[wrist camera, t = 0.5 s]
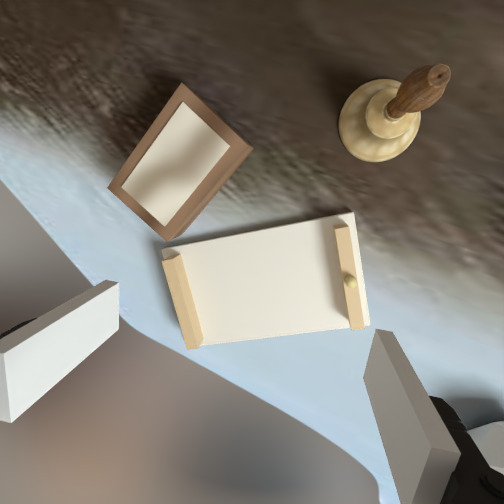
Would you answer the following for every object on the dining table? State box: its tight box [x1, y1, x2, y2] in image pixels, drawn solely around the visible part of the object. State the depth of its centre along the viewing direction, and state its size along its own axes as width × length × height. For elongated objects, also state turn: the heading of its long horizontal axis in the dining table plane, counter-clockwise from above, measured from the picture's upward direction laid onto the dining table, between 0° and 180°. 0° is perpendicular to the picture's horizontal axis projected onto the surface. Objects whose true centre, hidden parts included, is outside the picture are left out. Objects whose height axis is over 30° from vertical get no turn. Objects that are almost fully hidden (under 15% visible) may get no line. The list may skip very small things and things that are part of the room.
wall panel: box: [161, 212, 370, 350], centre depth 38 cm, size 14×24×4 cm, turn 103°
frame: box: [107, 83, 254, 242], centre depth 36 cm, size 9×14×5 cm, turn 138°
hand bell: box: [339, 64, 451, 162], centre depth 26 cm, size 8×8×16 cm
